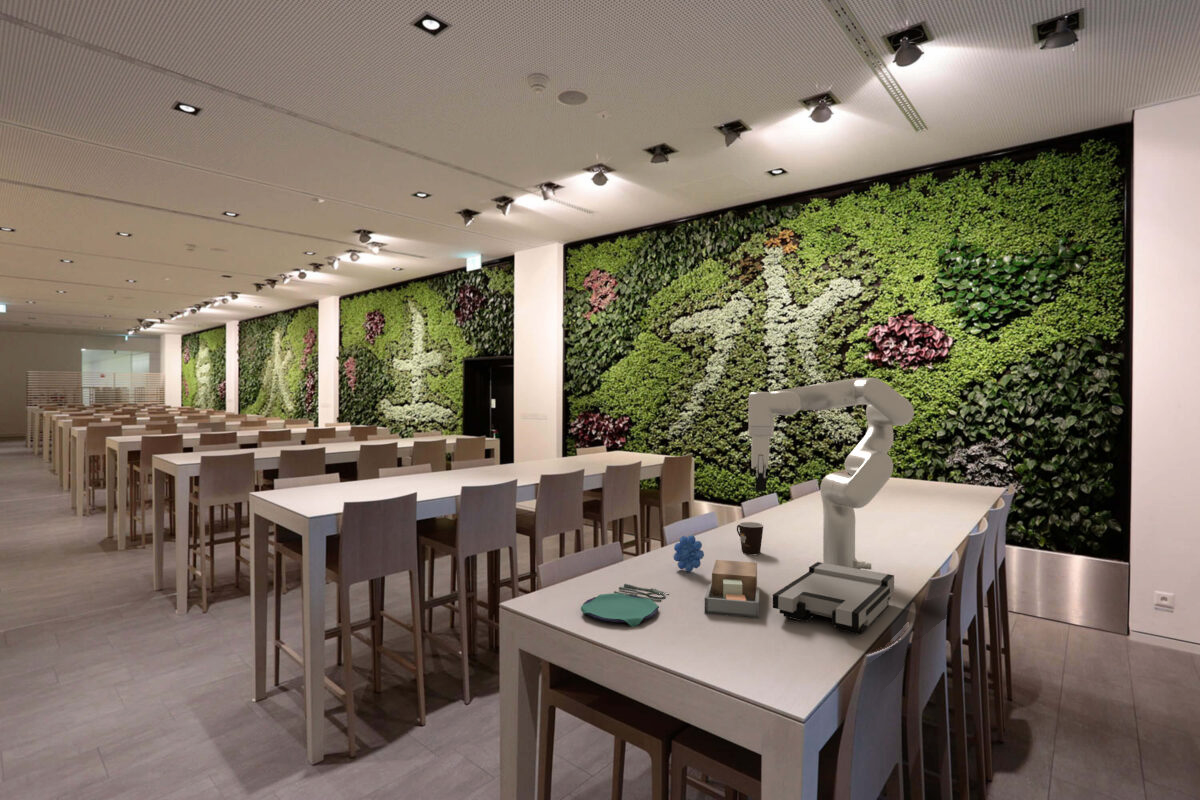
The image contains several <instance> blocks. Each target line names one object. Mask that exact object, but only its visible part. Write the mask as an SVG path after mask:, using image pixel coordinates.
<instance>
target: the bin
mask: <svg viewBox="0 0 1200 800" xmlns="http://www.w3.org/2000/svg"><path fill="white" fill-rule="evenodd" d="M705 613H706V614H708V615H715V614H716V615H717V616H726V615H728V616H729V617H736V616H737V618H739V617H740V618H749V619H760V618H759V616H760V587H757V588H756V599H748V598H746V601H742V600H731V599H723V596H713V595H712V583H708V585H707V589H706V593H705V597H704V614H705ZM706 614H705V615H706Z"/></svg>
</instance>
